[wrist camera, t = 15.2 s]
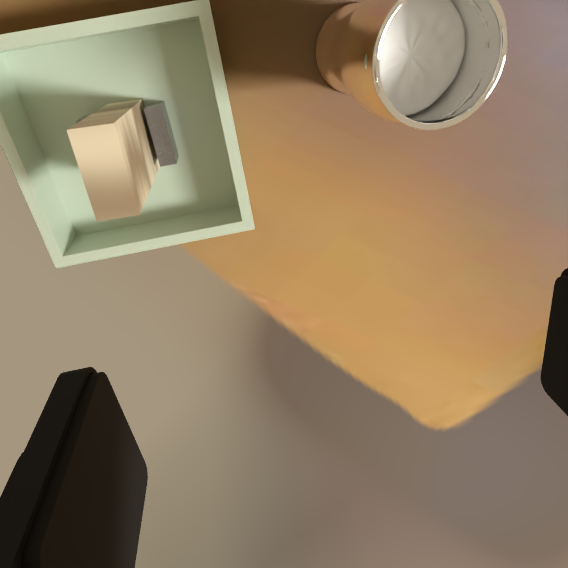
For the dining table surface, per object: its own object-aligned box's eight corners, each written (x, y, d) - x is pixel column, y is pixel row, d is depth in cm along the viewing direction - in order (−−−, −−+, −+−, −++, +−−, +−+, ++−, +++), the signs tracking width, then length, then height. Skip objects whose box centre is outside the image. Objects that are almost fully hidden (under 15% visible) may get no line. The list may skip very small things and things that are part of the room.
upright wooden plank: (109, 103, 33) (66, 129, 24) (142, 98, 33) (113, 123, 24) (128, 171, 36) (96, 221, 26) (159, 167, 36) (139, 215, 26)
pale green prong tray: (-9, 41, 31) (-45, 42, 27) (209, 3, 32) (208, -2, 28) (73, 242, 39) (55, 268, 34) (250, 207, 39) (254, 229, 35)
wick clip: (84, 115, 33) (75, 121, 31) (164, 101, 34) (161, 105, 31) (103, 170, 35) (96, 178, 33) (178, 155, 35) (176, 163, 33)
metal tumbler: (291, 34, 34) (341, 31, 20) (374, -27, 32) (483, -71, 19) (337, 117, 37) (406, 162, 24) (414, 64, 36) (531, 80, 23)
